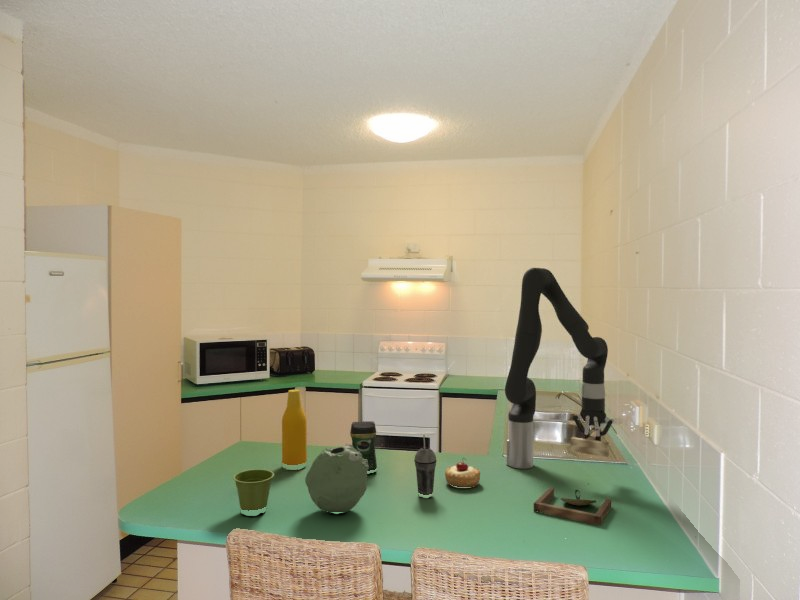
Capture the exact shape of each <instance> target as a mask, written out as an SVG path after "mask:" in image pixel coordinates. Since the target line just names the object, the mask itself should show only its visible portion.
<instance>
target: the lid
mask: <svg viewBox="0 0 800 600" xmlns="http://www.w3.org/2000/svg"><path fill="white" fill-rule="evenodd" d="M577 493H578V494H581V491H580V490H579V489H575V491H574V495H575V498H567V497H561V498H559V499H560V500H561V501H563V502H565V503H567V504H570V505H573V506H577V507H581V506H583V507H584V506H589V505H592V504H595V503H597V501H598V500H595V499H581V495H579V496H578V495H577Z"/></svg>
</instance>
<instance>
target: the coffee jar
mask: <svg viewBox="0 0 800 600" xmlns="http://www.w3.org/2000/svg"><path fill="white" fill-rule="evenodd" d="M349 434H350V435H349V436H350V438H351V445H353V448H355V449H356V450H357V451H360V453H361V454H362V458H364V459H367V460H368V466H369V469H368V471H370V470H375V469H376V468H377V469H378V464H377V457H376V456H377V455H376V445H375V444H376V443H375V438H376V436H377V428H376V423H375V421H370V420H369V421H366V420H365V421H353V422H352V423H351V426H350V433H349Z"/></svg>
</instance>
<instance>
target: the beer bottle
mask: <svg viewBox="0 0 800 600" xmlns="http://www.w3.org/2000/svg"><path fill="white" fill-rule="evenodd" d="M287 393H288V394H287V401H286V409H284V410H285V411H284V412H283V415H282V419H281V464H282V463H284V464H287V465H298V464H302V463H305V462H306V461H307V462H308V455H307V454H308V453H307V452H308V450H307V449H308V448H307V447H308V446H307V445H308V441H307V440H308V439H307V436H308V434H307V429H308V428H307V427H308V426H307V422H308V421H307V416H306V412H305V411H304V408H303V406H302V400H301V398H302V397H301V390H300V389H289V390H288V391H287Z"/></svg>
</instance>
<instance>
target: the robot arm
mask: <svg viewBox="0 0 800 600" xmlns="http://www.w3.org/2000/svg"><path fill="white" fill-rule="evenodd" d="M520 292H521V295H520V296H521V297H520V306H519V313H518V320H517V325H516V331H515V336H514V343H513V344H514V345H513V349H512V355H511V356H512V357H511V362H510V368H509V371H508V375H507V378H506V381H505V386H504V394H505V397H506V399H507V401H509V403H511V404H512V407H511V409H510V410H509V412H508V415H507V417H508V423H507V424H508V427H507V430H508V432H507V433H508V438H507V440H506V465H507V466H510V467H511V468H514V469H522V470H526V469H531V468H533V467H534V416H535V414H536V404H537V403H536V401H537V388H536V385H535V383H534V381H533V380H532V379H531V378H529V376H528V375H529V370H530V367H531V365H532V363H533V361H534V359H535V357H536V355H537V353H538V350H539V348H540V345H541V341H542V340H541V339H542V332H543V325H542V319H541V315H540V308H539V307H540V300H541V295H543V296H544V297H545V298H546V299H547V300H548V301H549V302H550V305H552V307H553V309H554V312H555V314H556V317H557V319H558V321H559V323H560V324H561V325H562V327H563V328H564V329H565V331H566V332H567V333H568V335H570V337H571V339H572V342H573V343H574V346H575V347H576V349H577V351H578V352H579V353H580V355H581V356H583V358H585V359H587V362H586V364H585V365H584V366H583V367H582V384H581V410H580V413H578V414H574V415H573V416H572V419H573V421H574V422H575V425H576V427H577V429H578V431H579V432H580V433H583V434H584V439H587V438H588V437H589V436H590V435H591V428H592V426H594V429H595V432H596V441H602V436H606V435H607V433H608V432H609V431H610V428H611V427H612V425H613V424H614V422H615V420H614V419H613V418H610V417H608V416H607V414H606V390H605V389H606V387H605V368H606V364H607V359H608V354H609V350H608V349H609V348H608V344H607V342H606V340H605V339H604V338H602V337H600V336H595V337H593V336H592V335H591V334H590V332H589V329H590V328H589V327H590V326H589V324H588V323H587V321H586V320H585V319H584V318H583V317H582V316H581V314H580V313H579V311H577V310H576V308H575V307H574V305H573V304H572V303H571V301H570V300H569V298H568V297H567V295H566V294H565V292H564V291H563V289H562V287H561V286H560V283H558V280H557V279H556V277H555V276H554V274H553V272H552V271H550V269H548V268H547V269H546V268H543V267H542V268H541V267H530V268H528V269H527V270H526V271H525V272H524V274H523V276H522V281H521V291H520ZM581 420H583V421H584V425H583V422H582V421H581ZM604 420H605V427H604V428H603V430H602V424H603V422H604Z"/></svg>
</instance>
